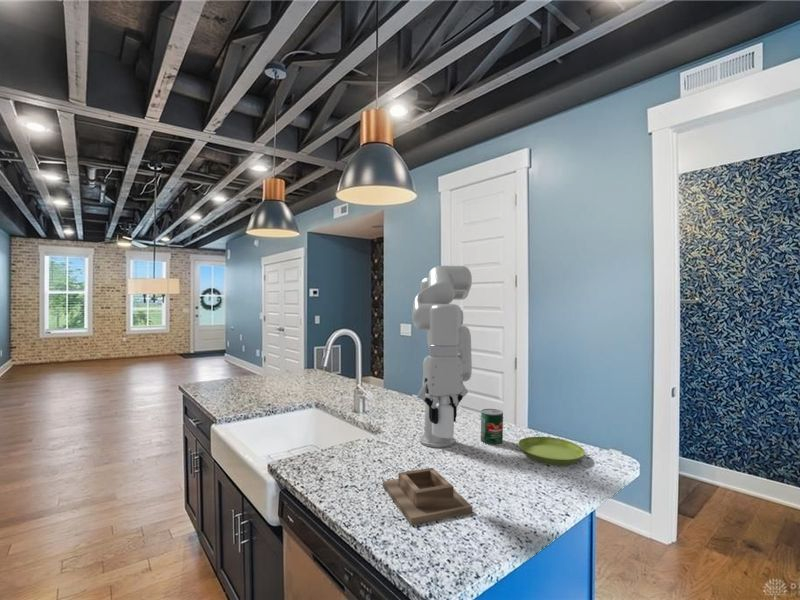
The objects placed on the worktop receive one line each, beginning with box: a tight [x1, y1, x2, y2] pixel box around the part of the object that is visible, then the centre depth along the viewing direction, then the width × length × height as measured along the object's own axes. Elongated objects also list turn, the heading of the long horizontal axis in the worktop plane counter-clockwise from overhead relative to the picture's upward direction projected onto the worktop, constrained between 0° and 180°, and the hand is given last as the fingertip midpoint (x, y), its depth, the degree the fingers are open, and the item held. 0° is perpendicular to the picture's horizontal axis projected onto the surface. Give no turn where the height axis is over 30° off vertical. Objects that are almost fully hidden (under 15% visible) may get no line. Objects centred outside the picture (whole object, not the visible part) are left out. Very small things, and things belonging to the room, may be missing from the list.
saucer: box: [517, 436, 586, 467], centre depth 134 cm, size 21×21×3 cm
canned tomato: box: [480, 408, 504, 446], centre depth 147 cm, size 8×8×11 cm
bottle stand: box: [382, 467, 473, 526], centre depth 103 cm, size 20×16×5 cm
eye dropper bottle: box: [432, 396, 455, 438], centre depth 105 cm, size 4×6×12 cm
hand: (442, 420), depth 105 cm, fingers closed on eye dropper bottle, 4 cm apart
